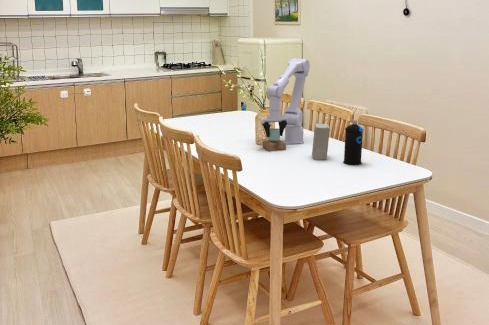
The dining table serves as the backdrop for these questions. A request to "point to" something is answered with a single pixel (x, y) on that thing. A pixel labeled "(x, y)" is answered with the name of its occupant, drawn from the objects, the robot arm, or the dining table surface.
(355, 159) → the aerosol can
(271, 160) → the dining table surface
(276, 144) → the walnut block
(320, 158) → the skincare box
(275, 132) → the teal block
